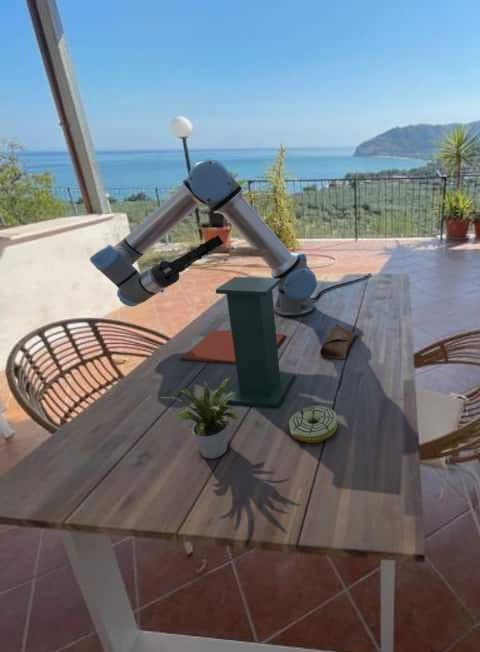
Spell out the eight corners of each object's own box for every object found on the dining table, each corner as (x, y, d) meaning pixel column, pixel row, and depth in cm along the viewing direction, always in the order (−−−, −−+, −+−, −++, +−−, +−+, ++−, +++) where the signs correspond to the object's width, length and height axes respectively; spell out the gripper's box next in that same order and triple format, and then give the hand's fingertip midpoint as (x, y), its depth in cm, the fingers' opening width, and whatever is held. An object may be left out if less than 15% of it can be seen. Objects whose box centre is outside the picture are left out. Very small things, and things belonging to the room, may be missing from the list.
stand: (246, 373, 110) (234, 274, 100) (294, 377, 108) (286, 276, 98) (223, 402, 97) (206, 292, 87) (277, 407, 96) (266, 295, 85)
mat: (213, 332, 136) (213, 329, 136) (285, 336, 133) (284, 334, 133) (181, 359, 118) (181, 357, 118) (263, 365, 115) (263, 363, 114)
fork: (197, 250, 118) (196, 243, 117) (268, 252, 115) (267, 245, 114) (186, 254, 113) (185, 247, 112) (261, 257, 110) (260, 250, 109)
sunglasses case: (347, 358, 117) (335, 340, 116) (328, 366, 120) (316, 349, 118) (358, 333, 134) (348, 317, 132) (341, 341, 136) (332, 325, 135)
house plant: (170, 488, 72) (153, 416, 67) (171, 441, 84) (157, 376, 78) (248, 465, 78) (239, 396, 72) (239, 424, 90) (230, 362, 84)
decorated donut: (293, 415, 93) (292, 402, 91) (338, 415, 93) (338, 402, 91) (285, 446, 83) (284, 431, 81) (336, 446, 83) (335, 431, 81)
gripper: (182, 279, 128) (236, 246, 121) (153, 294, 114) (213, 257, 107) (168, 259, 126) (222, 224, 119) (137, 272, 112) (197, 234, 105)
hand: (218, 240), depth 113 cm, fingers closed on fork, 2 cm apart
